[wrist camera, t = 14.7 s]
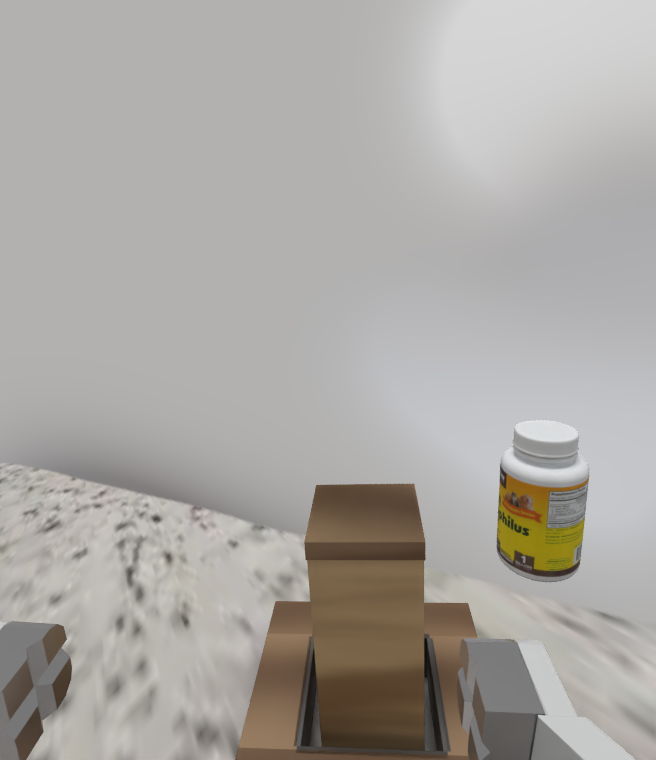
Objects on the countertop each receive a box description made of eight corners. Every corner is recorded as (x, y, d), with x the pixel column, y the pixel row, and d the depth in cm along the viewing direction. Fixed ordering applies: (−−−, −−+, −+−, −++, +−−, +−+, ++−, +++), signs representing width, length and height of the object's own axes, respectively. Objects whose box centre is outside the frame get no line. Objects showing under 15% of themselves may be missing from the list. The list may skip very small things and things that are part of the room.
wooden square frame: (526, 876, 18) (530, 828, 17) (228, 858, 19) (221, 813, 18) (467, 638, 29) (467, 603, 28) (279, 635, 30) (275, 601, 29)
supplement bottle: (483, 542, 38) (488, 419, 35) (551, 534, 38) (561, 411, 36) (519, 592, 33) (527, 450, 30) (597, 581, 33) (613, 441, 30)
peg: (425, 777, 22) (425, 541, 18) (322, 773, 22) (304, 542, 19) (415, 686, 26) (414, 483, 23) (330, 684, 26) (316, 485, 23)
